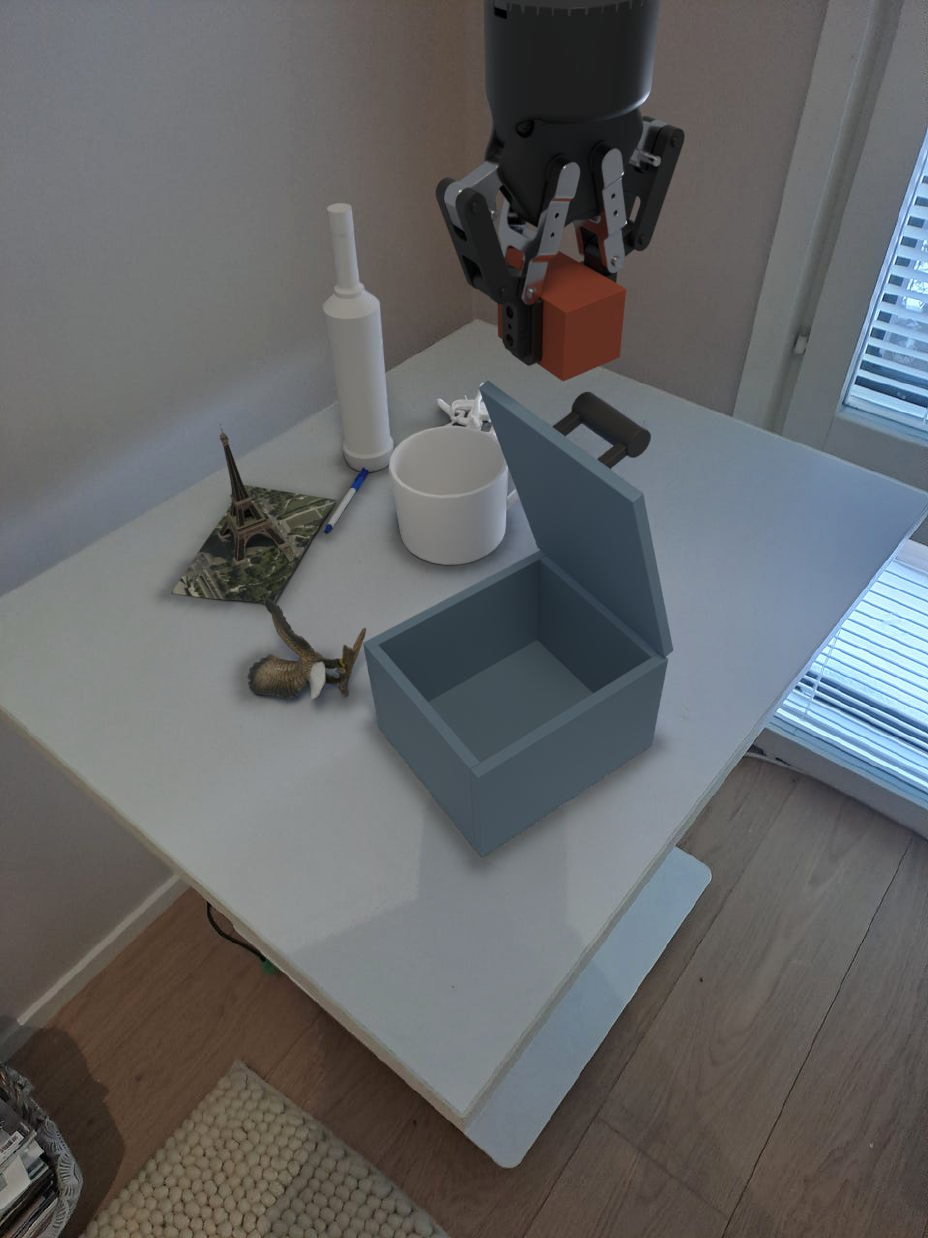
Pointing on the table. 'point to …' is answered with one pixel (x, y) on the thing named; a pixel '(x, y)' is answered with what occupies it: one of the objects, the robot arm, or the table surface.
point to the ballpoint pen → (347, 498)
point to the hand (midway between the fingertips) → (557, 343)
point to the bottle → (356, 353)
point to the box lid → (586, 505)
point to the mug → (451, 494)
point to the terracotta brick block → (578, 318)
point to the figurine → (475, 412)
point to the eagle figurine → (299, 664)
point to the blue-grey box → (514, 697)
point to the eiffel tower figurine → (253, 542)
